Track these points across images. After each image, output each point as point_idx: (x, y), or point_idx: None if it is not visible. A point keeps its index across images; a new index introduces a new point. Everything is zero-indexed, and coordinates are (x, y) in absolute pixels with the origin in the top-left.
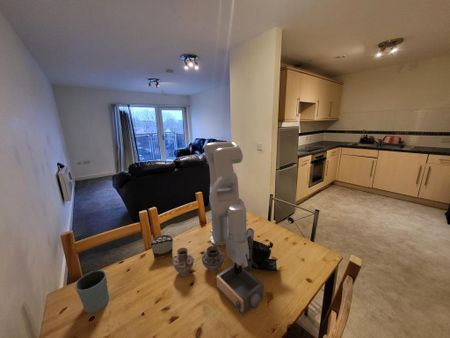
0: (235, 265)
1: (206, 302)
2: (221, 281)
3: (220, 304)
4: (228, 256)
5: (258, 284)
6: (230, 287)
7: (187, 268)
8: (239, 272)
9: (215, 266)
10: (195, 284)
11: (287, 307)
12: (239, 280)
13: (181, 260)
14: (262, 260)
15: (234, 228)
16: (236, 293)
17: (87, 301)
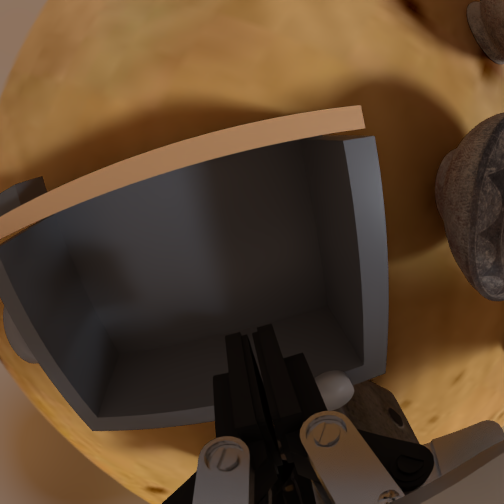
0: (286, 425)
1: (228, 6)
2: (259, 122)
3: (161, 85)
4: (480, 481)
5: (91, 412)
6: (115, 189)
7: (502, 2)
8: (215, 384)
9: (467, 179)
10: (400, 16)
11: (56, 400)
12: (275, 305)
13: None
14: (279, 489)
15: None
16: (35, 221)
17: None
